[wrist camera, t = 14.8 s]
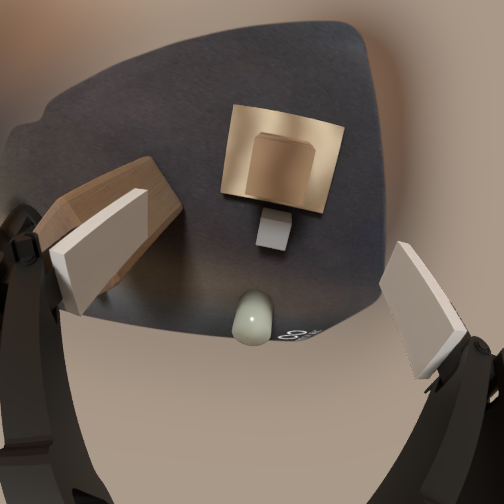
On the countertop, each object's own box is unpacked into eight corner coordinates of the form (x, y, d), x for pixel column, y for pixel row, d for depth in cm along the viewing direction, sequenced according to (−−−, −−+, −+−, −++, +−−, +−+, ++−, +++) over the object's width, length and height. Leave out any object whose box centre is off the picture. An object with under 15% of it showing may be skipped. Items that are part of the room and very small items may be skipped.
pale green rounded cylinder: (236, 313, 48) (229, 341, 42) (241, 287, 45) (234, 315, 39) (269, 319, 48) (266, 348, 42) (276, 294, 45) (274, 323, 39)
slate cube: (258, 232, 40) (255, 244, 37) (263, 206, 38) (261, 217, 35) (285, 237, 40) (284, 250, 37) (291, 212, 38) (291, 223, 35)
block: (187, 207, 39) (118, 287, 22) (142, 235, 43) (72, 313, 25) (151, 152, 36) (55, 196, 18) (109, 186, 39) (21, 244, 21)
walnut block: (253, 176, 34) (244, 194, 28) (261, 131, 31) (254, 137, 25) (298, 185, 34) (302, 206, 27) (308, 141, 31) (315, 150, 24)
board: (222, 189, 37) (220, 192, 36) (235, 104, 31) (233, 104, 30) (321, 209, 37) (322, 213, 36) (342, 126, 31) (344, 127, 30)
